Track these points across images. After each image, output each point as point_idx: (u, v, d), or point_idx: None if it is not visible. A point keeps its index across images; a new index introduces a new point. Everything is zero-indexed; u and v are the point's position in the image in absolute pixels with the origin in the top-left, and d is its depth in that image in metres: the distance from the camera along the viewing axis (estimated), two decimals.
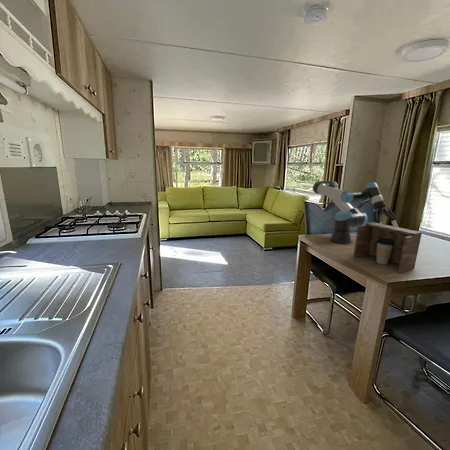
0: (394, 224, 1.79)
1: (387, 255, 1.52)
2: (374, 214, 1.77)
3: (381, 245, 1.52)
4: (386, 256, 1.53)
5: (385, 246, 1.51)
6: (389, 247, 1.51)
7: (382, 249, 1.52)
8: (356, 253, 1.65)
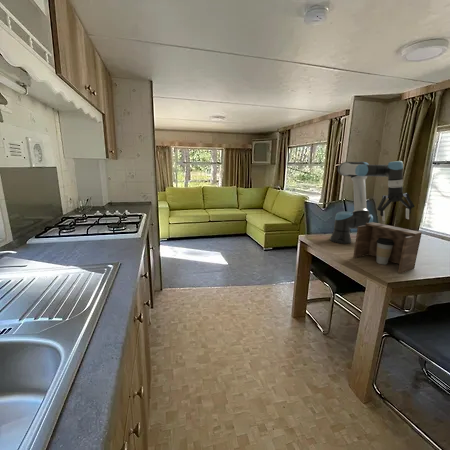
0: (406, 213, 1.59)
1: (387, 255, 1.52)
2: (381, 202, 1.61)
3: (381, 245, 1.52)
4: (386, 256, 1.53)
5: (385, 246, 1.51)
6: (389, 247, 1.51)
7: (382, 249, 1.52)
8: (356, 253, 1.65)
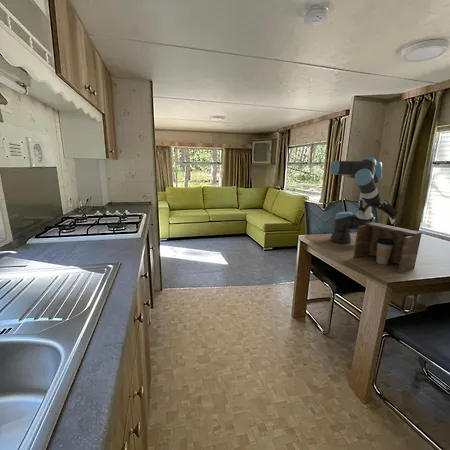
0: None
1: (387, 255, 1.52)
2: None
3: (381, 245, 1.52)
4: (386, 256, 1.53)
5: (385, 246, 1.51)
6: (389, 247, 1.51)
7: (382, 249, 1.52)
8: (356, 253, 1.65)
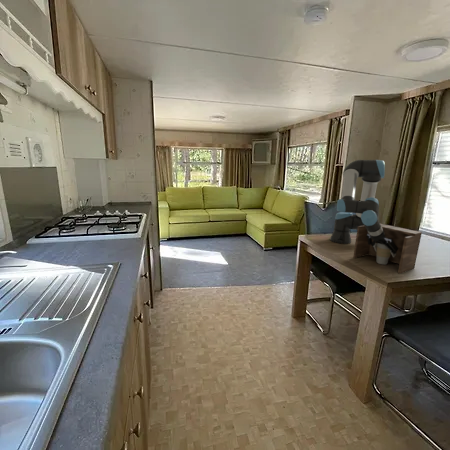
0: None
1: (387, 255, 1.52)
2: None
3: (381, 245, 1.52)
4: (386, 256, 1.53)
5: (385, 246, 1.51)
6: None
7: (382, 249, 1.52)
8: (356, 253, 1.65)
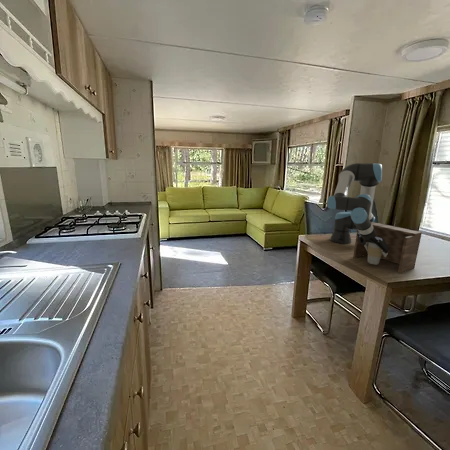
0: None
1: (378, 254, 1.46)
2: None
3: (372, 244, 1.46)
4: (377, 255, 1.47)
5: (376, 245, 1.45)
6: None
7: (373, 248, 1.46)
8: (356, 253, 1.65)
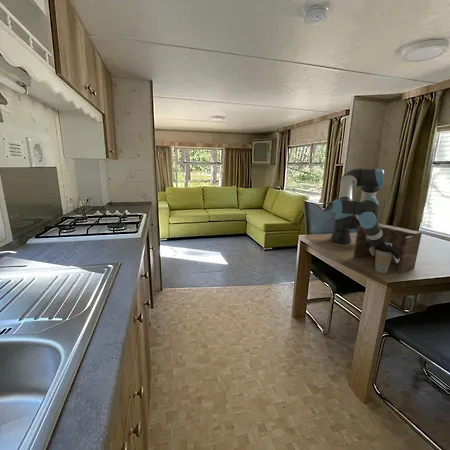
0: None
1: (387, 263, 1.40)
2: None
3: (380, 252, 1.40)
4: (385, 264, 1.40)
5: (385, 253, 1.39)
6: (389, 254, 1.38)
7: (381, 256, 1.40)
8: (356, 253, 1.65)
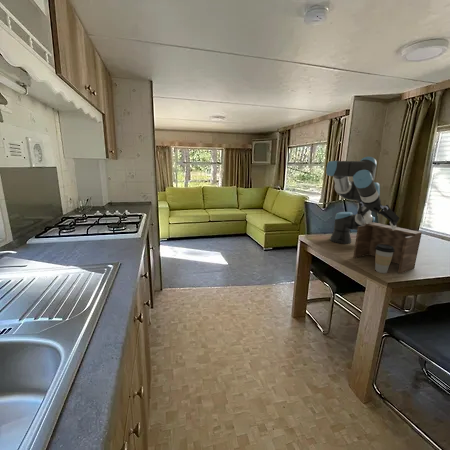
0: None
1: (387, 263, 1.40)
2: None
3: (380, 252, 1.40)
4: (385, 264, 1.40)
5: (385, 253, 1.39)
6: (389, 254, 1.38)
7: (381, 256, 1.40)
8: (356, 253, 1.65)
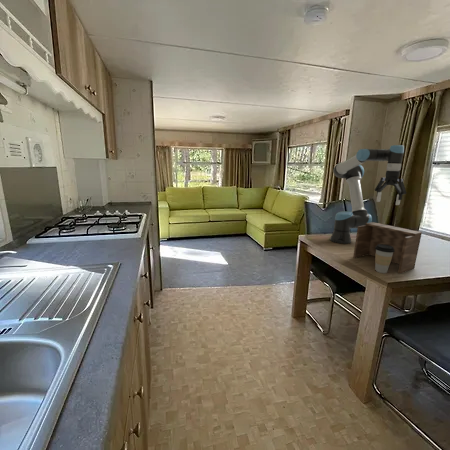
0: None
1: (387, 263, 1.40)
2: None
3: (380, 252, 1.40)
4: (385, 264, 1.40)
5: (384, 253, 1.39)
6: (389, 254, 1.38)
7: (381, 256, 1.40)
8: (356, 253, 1.65)
